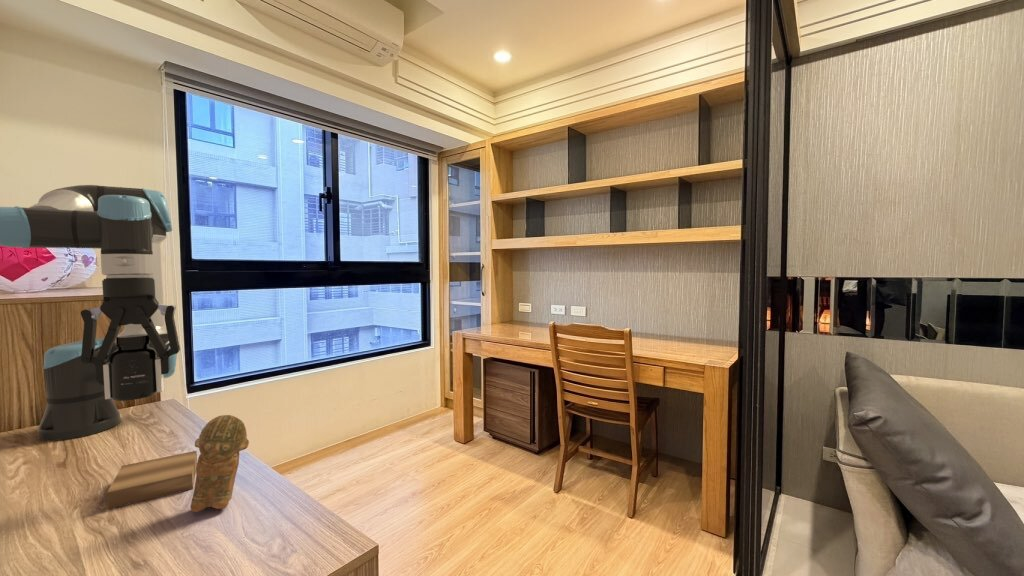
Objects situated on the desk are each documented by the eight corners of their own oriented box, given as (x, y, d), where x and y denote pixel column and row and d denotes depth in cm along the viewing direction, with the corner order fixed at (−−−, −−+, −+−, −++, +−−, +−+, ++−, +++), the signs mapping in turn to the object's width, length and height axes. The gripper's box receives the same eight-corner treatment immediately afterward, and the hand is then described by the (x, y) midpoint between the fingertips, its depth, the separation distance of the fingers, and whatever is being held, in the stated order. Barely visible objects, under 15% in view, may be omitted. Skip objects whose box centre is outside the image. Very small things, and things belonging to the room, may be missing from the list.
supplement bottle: (129, 402, 78) (126, 338, 78) (102, 401, 80) (98, 338, 79) (167, 392, 85) (164, 333, 85) (141, 390, 87) (137, 332, 86)
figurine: (189, 521, 71) (185, 434, 70) (199, 497, 78) (195, 418, 77) (248, 507, 75) (244, 424, 74) (252, 486, 82) (249, 410, 81)
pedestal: (122, 480, 85) (122, 465, 84) (197, 464, 91) (196, 450, 91) (108, 509, 75) (107, 492, 74) (192, 488, 81) (191, 473, 81)
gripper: (48, 278, 73) (56, 408, 74) (190, 275, 84) (196, 389, 85) (64, 278, 79) (71, 398, 80) (194, 275, 90) (199, 381, 91)
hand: (135, 393), depth 82 cm, fingers closed on supplement bottle, 7 cm apart
